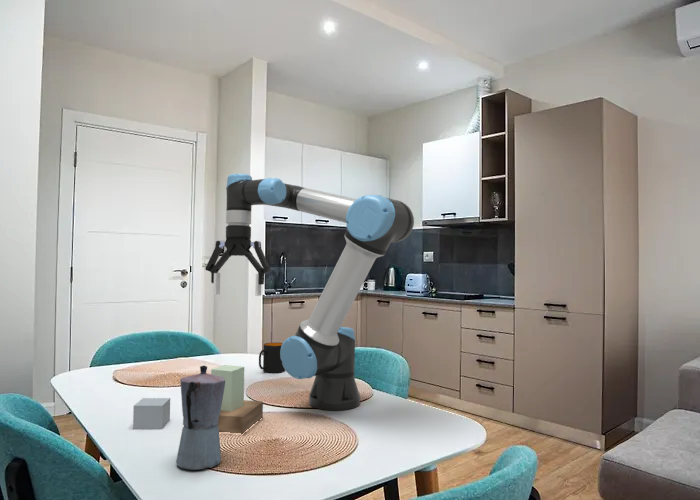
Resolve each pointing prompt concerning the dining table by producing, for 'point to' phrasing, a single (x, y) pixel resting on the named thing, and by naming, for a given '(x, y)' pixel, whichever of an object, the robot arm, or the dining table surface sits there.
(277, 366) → the mug
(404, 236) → the robot arm
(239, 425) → the walnut block
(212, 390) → the moka pot
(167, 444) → the dining table surface
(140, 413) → the slate block
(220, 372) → the sage block
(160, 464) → the dining table surface
